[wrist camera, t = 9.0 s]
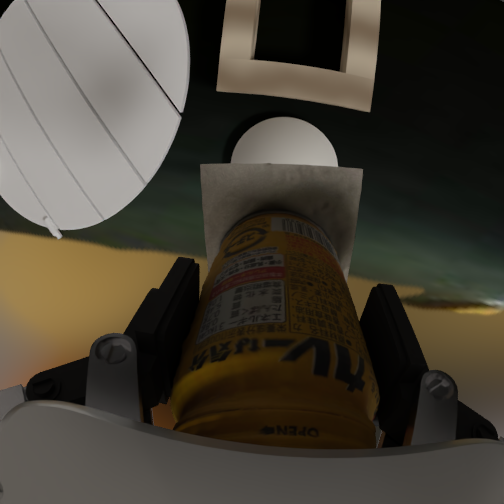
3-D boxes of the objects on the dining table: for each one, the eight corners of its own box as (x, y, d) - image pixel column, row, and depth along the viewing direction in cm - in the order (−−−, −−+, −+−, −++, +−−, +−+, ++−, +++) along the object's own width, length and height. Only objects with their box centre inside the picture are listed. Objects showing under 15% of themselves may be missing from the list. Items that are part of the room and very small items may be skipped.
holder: (239, -39, 20) (234, -52, 17) (372, -21, 20) (381, -32, 16) (223, 91, 28) (216, 90, 25) (360, 110, 27) (369, 112, 24)
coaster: (236, 111, 29) (235, 111, 28) (344, 126, 28) (346, 126, 27) (228, 210, 34) (227, 213, 33) (326, 223, 33) (327, 227, 33)
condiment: (212, 312, 17) (163, 521, 7) (201, 163, 13) (16, 372, 3) (339, 315, 17) (378, 523, 6) (361, 167, 13) (548, 372, 2)
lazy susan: (54, 271, 42) (42, 282, 39) (-43, 104, 28) (-56, 108, 25) (263, 108, 29) (260, 108, 26) (101, -82, 15) (88, -90, 12)
